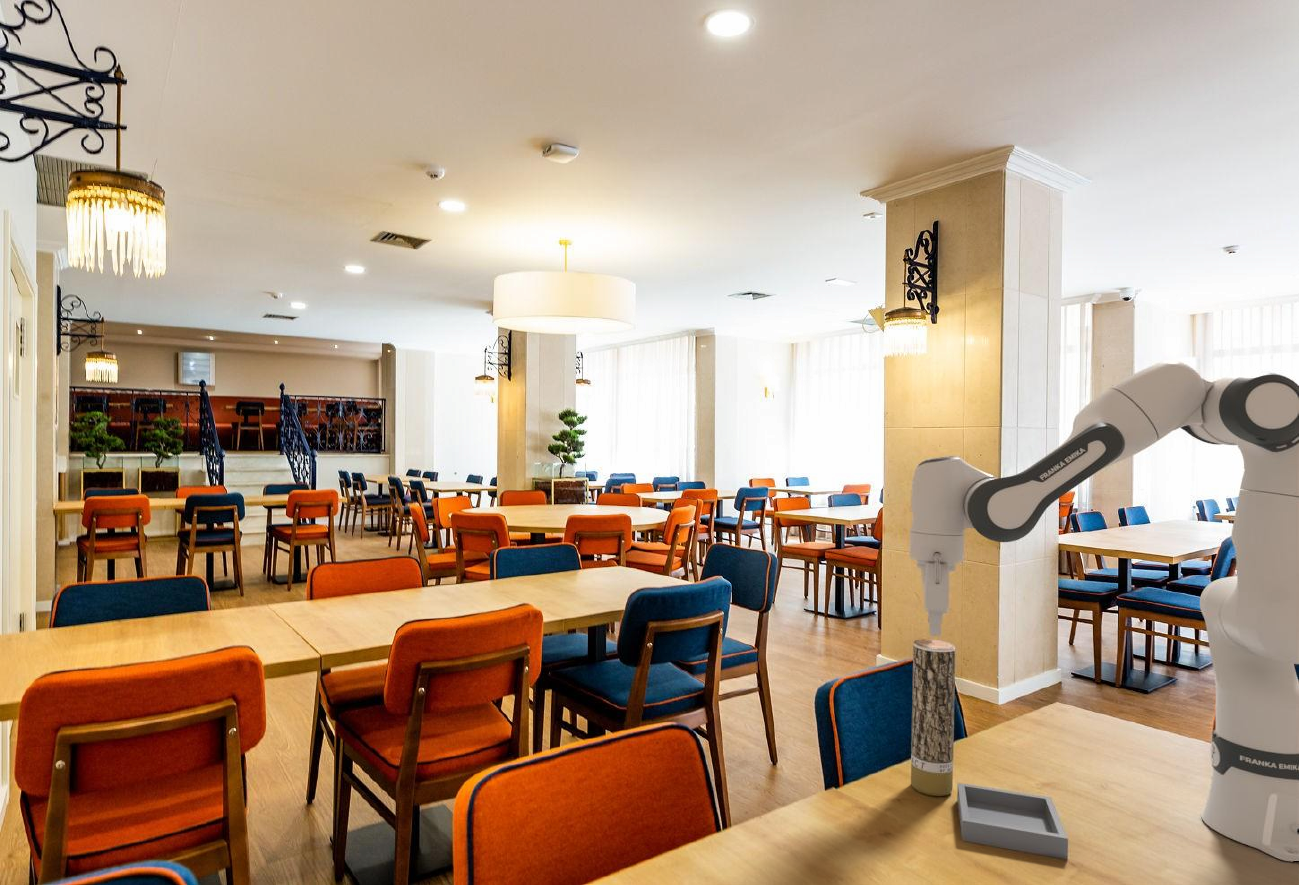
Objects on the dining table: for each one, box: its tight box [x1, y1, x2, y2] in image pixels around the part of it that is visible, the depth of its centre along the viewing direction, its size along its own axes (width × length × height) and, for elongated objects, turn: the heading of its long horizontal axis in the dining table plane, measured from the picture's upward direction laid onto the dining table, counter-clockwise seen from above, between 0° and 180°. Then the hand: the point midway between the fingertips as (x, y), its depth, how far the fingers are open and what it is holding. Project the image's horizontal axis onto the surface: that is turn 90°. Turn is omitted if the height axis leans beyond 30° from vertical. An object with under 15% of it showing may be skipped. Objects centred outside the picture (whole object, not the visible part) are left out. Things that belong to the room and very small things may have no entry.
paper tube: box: [910, 638, 956, 797], centre depth 130 cm, size 7×7×25 cm
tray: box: [956, 782, 1069, 861], centre depth 117 cm, size 14×14×3 cm
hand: (934, 629), depth 130 cm, fingers open, 8 cm apart
